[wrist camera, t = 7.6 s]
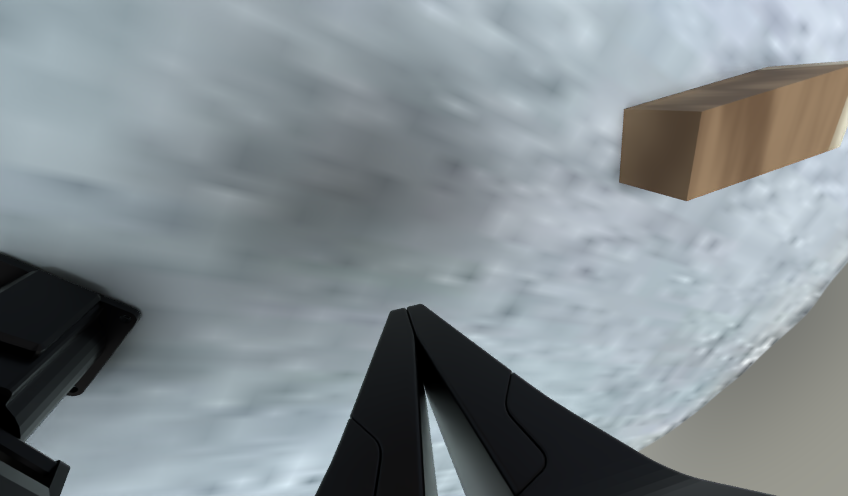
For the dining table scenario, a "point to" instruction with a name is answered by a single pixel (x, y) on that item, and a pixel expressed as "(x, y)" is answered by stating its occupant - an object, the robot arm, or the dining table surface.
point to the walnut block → (734, 129)
